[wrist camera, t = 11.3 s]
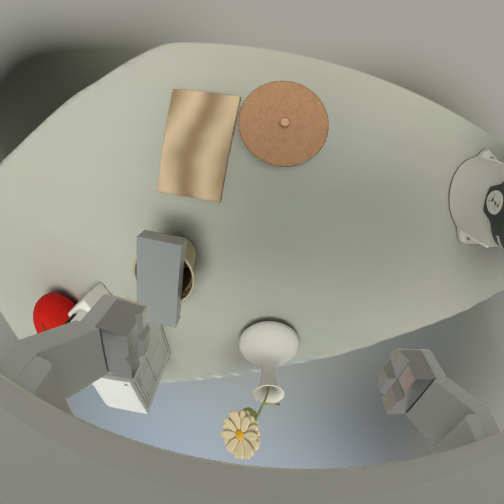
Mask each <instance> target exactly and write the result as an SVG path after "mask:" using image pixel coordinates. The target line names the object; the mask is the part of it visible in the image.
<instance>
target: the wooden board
mask: <svg viewBox="0 0 504 504" xmlns="http://www.w3.org/2000/svg"><path fill="white" fill-rule="evenodd" d="M240 99H241V97H238V96H232V95H225V94H217V93H209V92H201V91H190V90H178V89H173V93H172V98H171V103H170V108H169V113H168V119H167V124H166V130H165V136H164V143H163V149H162V156H161V164H160V171H159V179H158V188H157V191H159V192H165V193H171V194H177V195H182V196H188V197H193V198H199V199H204V200H209V201H215V202H220V201H221V196H222V190H223V184H224V179H225V174H226V168H227V163H228V158H229V152H230V147H231V142H232V137H233V132H234V127H235V122H236V118H237V113H238V108H239V104H240Z"/></svg>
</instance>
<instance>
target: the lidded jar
mask: <svg viewBox="0 0 504 504" xmlns="http://www.w3.org/2000/svg"><path fill="white" fill-rule="evenodd" d="M239 131H240V135H241V138H242V140H243V142H244V144H245V146H246V147H247V148H248V149H249V151H250V152H251V153H252V154H253V155H254V156H256V157H257V158H259V159H260V160H262V161H264V162H266V163H268V164H271V165H275V166H295V165H298V164H301V163H304V162H306V161H308V160H309V159H311V158H312V157H313V156H315V155H316V154H317V153H318V152H319V150H320V149H321V148H322V146H323V144H324V143H325V140H326V137H327V134H328V116H327V112H326V109H325V107H324V105H323V103H322V102H321V100H320V99H319V98H318V97H317V96H316V95H315V94H314V93H313V92H312V91H311V90H309V89H308V88H307V87H305V86H303V85H301V84H298V83H295V82H290V81H275V82H270V83H267V84H264V85H262V86H260V87H258V88H257V89H256V90H254V91H253V92H252V93H251V94H250V95H249V96H248V97H247V98H246V100H245V101H244V103H243V105H242V107H241V110H240V114H239Z"/></svg>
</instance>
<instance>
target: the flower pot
mask: <svg viewBox="0 0 504 504" xmlns="http://www.w3.org/2000/svg"><path fill="white" fill-rule="evenodd" d="M178 237H181V236H178ZM183 238H185V237H183ZM195 261H196V250H195V247H194V245H193V244H192V243H191V242H190V241H189V240H188V239H187V242H186V252H185V262H184V264H186V263H187V265H184V272H183V284H182V297H181V302H183V301H185V300H186V299H187V298H188V297H189V296H190V295H191V293H192V291H193V289H194V285H195V275H194V271H193V270H194V265H195ZM133 275H134V279H135V282H136V284H137V257H136V259H135V262H134V265H133Z"/></svg>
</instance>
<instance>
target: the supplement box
mask: <svg viewBox="0 0 504 504" xmlns="http://www.w3.org/2000/svg"><path fill="white" fill-rule="evenodd" d="M147 323H148V325H149V326H150V328H151V335H150V342H149V345H148V349H147V351H146V353H145V355H144V356H142V357H140V358H139V361H140V366H139V368H138V370H137V372H136V374H135V376H134V378H133V380H132V379H128V378H125V377H122V376H119V375H116V374H113V373H110V372H108V374H106V375H105V376H103V377H101V378H100V379H98V380H97V381H95V382H93V383H92V384H93V385H94V387H95V388H96V390H97V391H98V393H99V394H100V396H101V397H102V399H103V400H104V402H105V403H106V405H107V406H110V407H114V408H119V409H124V410H129V411H134V412H140V413H146V414H148V412H149V409H150V406H151V403H152V401H153V398H154V395H155V392H156V390H157V387H158V384H159V381H160V379H161V376H162V374H163V371H164V369H165V366H166V363H167V361H168V358H169V356H170V350H169V347H168V344H167V341H166V338H165V335H164V332H163V329H162V326H161V324H159V323H155V322H151V321H148V322H147Z"/></svg>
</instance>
